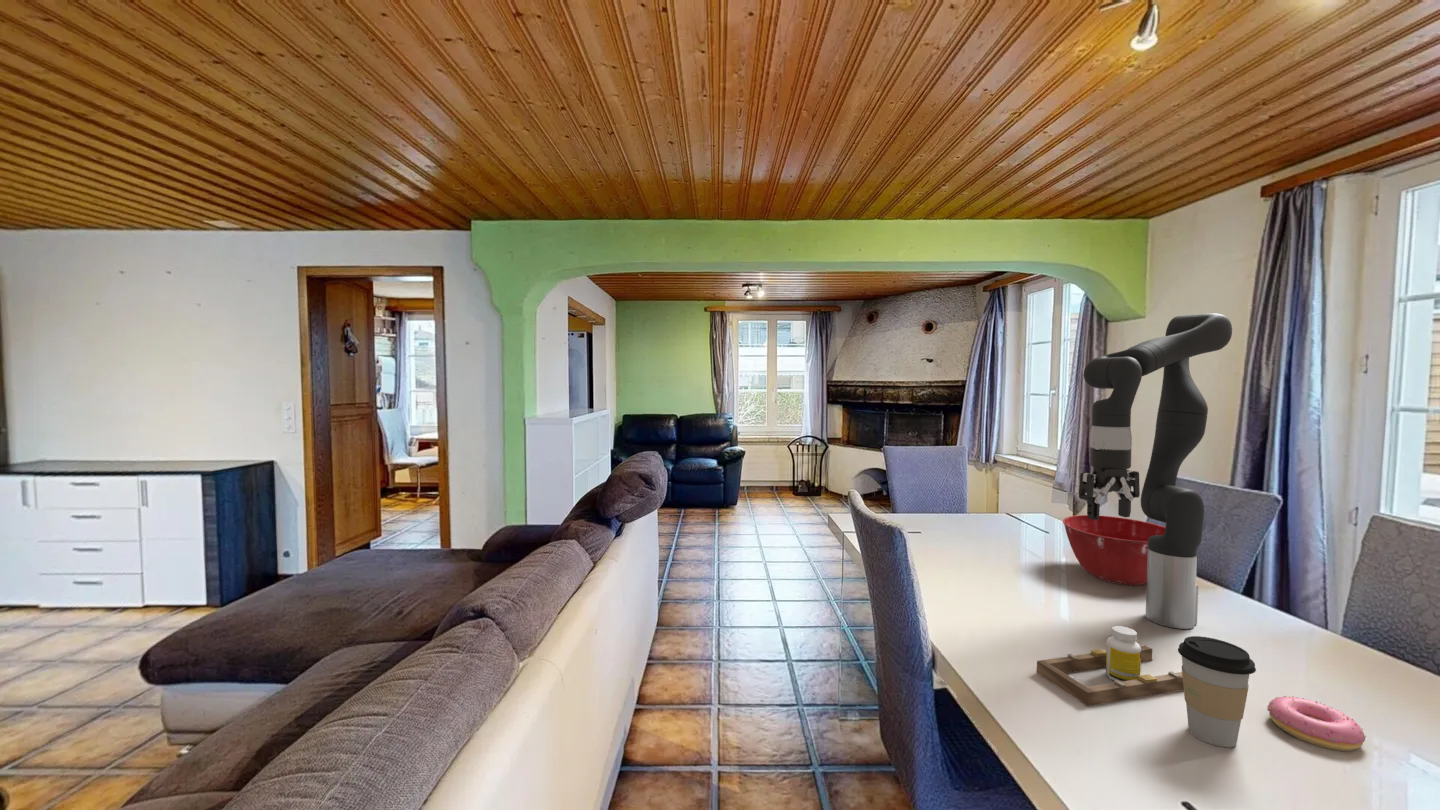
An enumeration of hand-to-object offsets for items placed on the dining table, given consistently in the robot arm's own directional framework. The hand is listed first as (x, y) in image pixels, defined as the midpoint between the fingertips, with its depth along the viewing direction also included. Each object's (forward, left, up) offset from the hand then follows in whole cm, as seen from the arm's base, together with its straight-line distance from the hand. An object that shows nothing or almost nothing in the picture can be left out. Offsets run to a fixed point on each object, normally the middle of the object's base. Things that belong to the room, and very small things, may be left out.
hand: (1108, 517), depth 121 cm
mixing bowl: (-40, -31, -28) cm, 58 cm away
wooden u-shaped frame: (+12, +14, -28) cm, 34 cm away
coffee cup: (+14, +31, -28) cm, 44 cm away
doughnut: (-4, +34, -28) cm, 45 cm away
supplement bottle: (+12, +14, -28) cm, 34 cm away
